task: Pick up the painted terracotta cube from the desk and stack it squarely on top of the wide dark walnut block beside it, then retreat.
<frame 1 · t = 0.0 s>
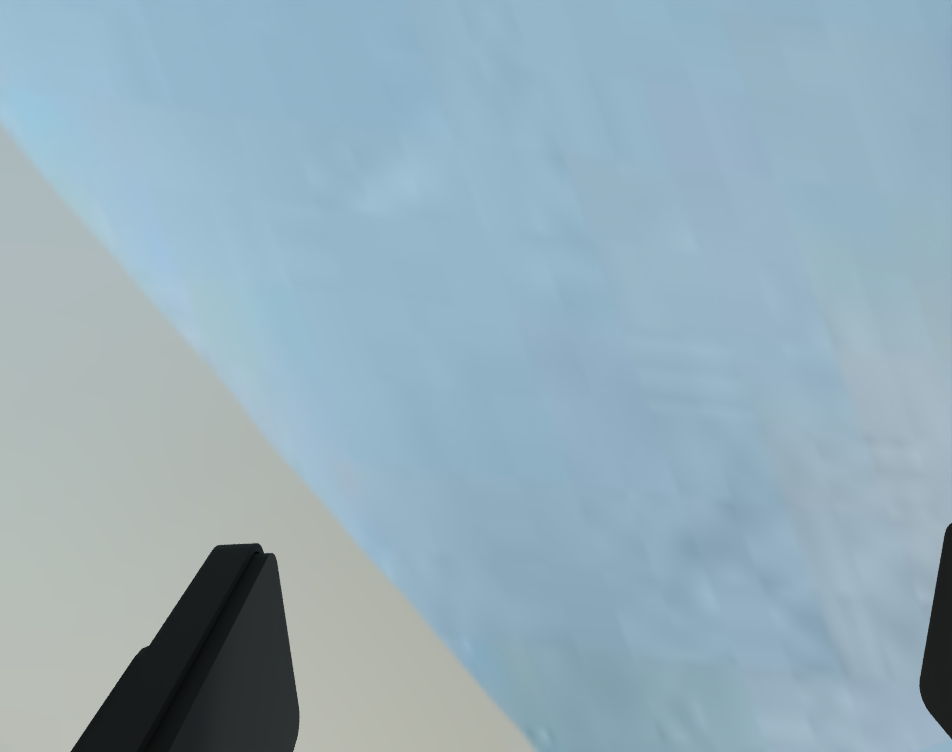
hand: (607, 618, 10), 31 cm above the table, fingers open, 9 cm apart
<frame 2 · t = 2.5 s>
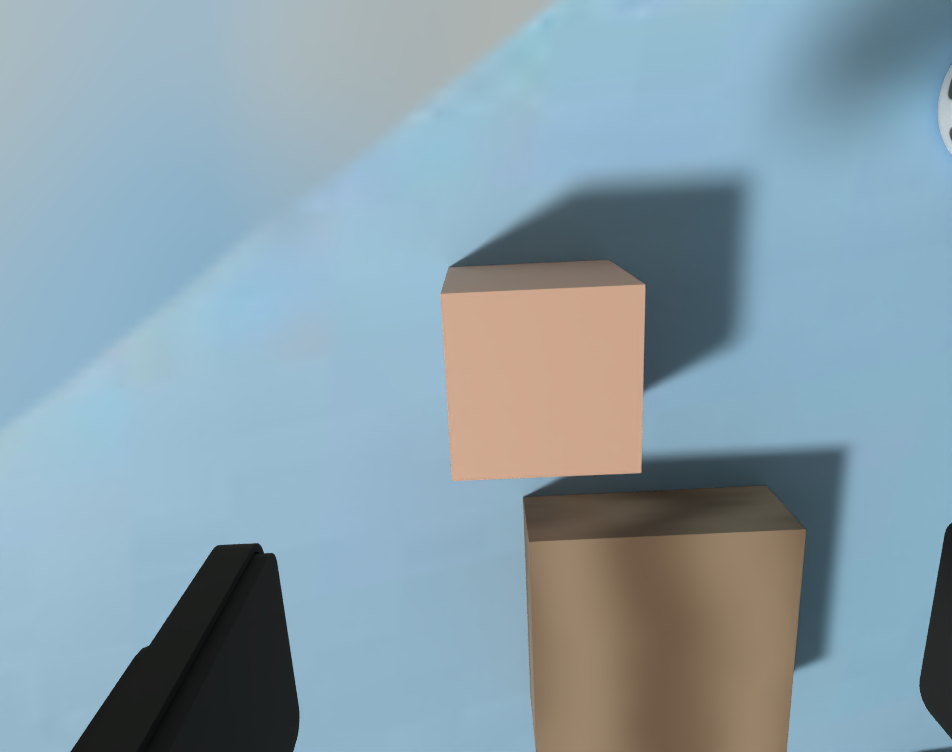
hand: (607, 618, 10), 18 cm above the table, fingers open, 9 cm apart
walnut block: (640, 591, 30), on the table
terracotta cube: (530, 340, 27), on the table
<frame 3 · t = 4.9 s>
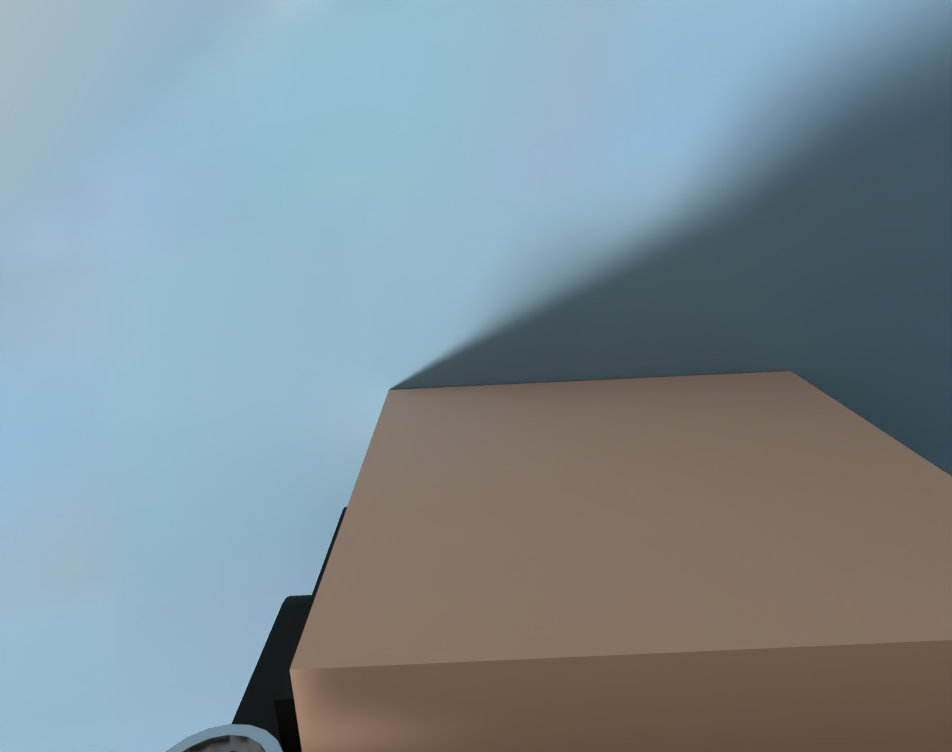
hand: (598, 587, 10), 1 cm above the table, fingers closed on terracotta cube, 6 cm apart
terracotta cube: (589, 556, 11), on the table, touching gripper
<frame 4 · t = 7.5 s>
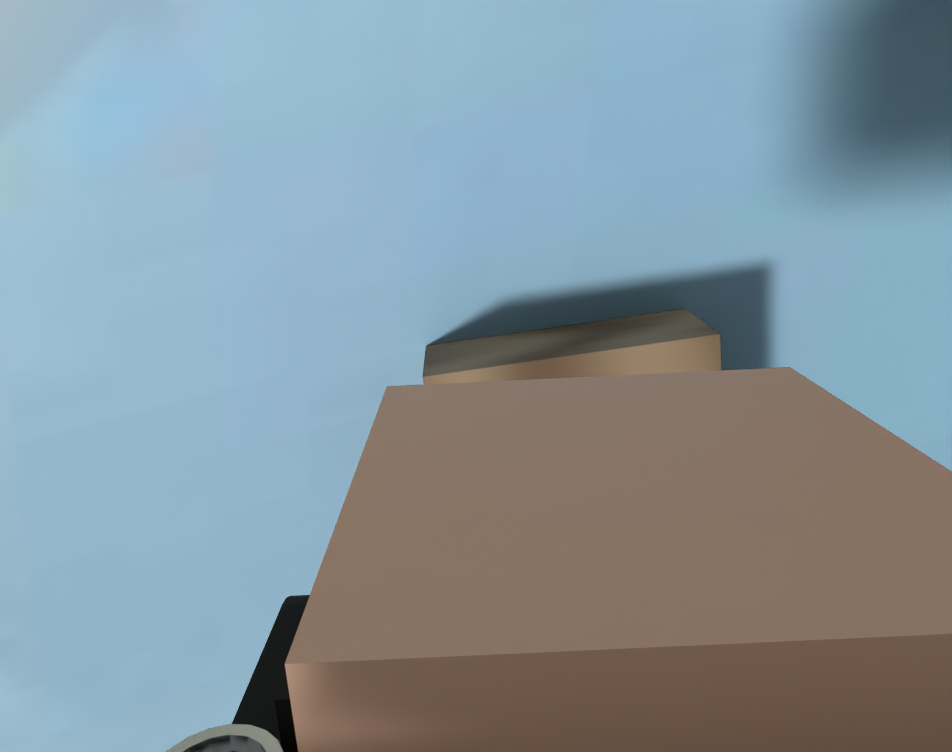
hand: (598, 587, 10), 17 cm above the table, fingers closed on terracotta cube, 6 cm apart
walnut block: (566, 441, 29), on the table
terracotta cube: (588, 553, 11), point 16 cm above the table, touching gripper
when the fingers open (5 cm above the table, at t = 10.3 s): terracotta cube stays where it is, resting on walnut block.
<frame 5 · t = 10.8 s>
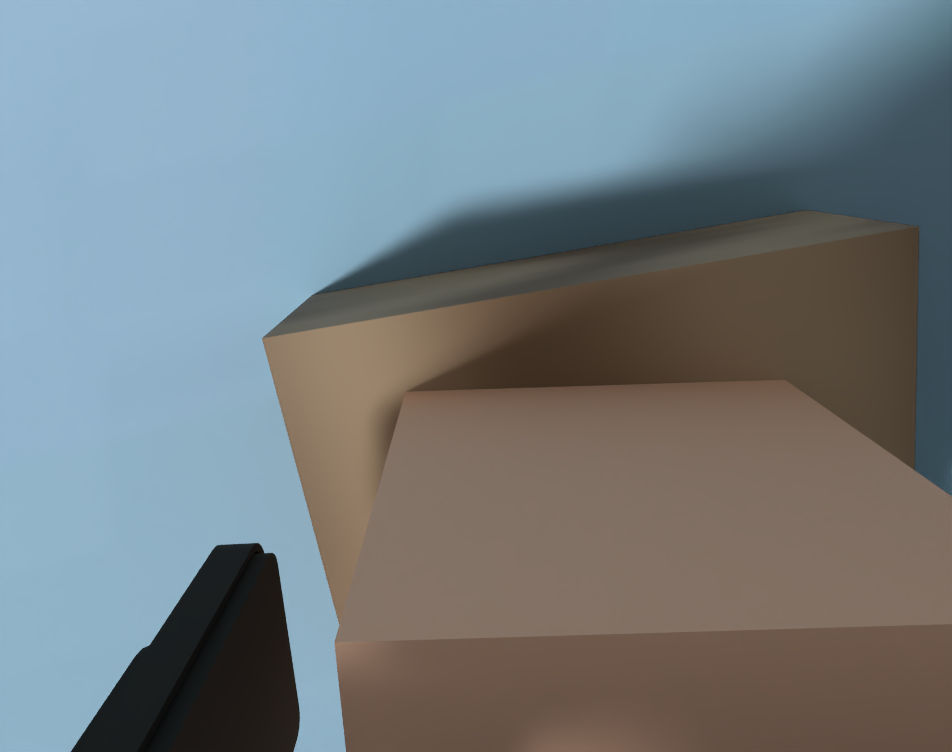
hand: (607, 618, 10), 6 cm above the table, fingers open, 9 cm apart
walnut block: (583, 469, 16), on the table, touching terracotta cube
terracotta cube: (591, 552, 12), point 4 cm above the table, touching walnut block
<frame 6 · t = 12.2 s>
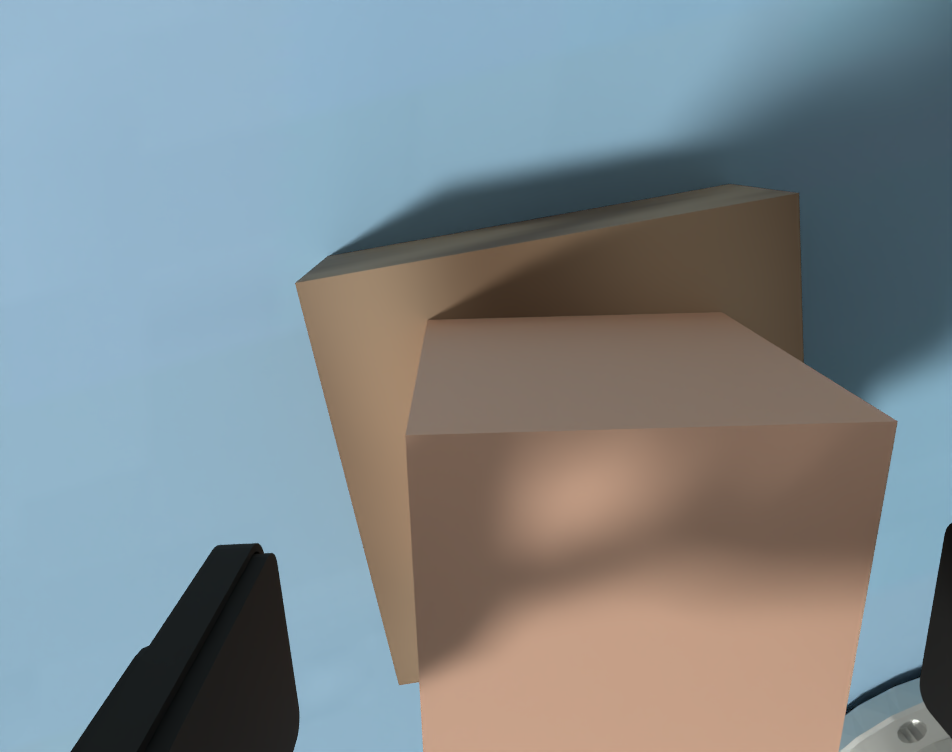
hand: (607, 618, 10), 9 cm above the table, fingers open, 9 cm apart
walnut block: (552, 403, 19), on the table, touching terracotta cube
terracotta cube: (571, 451, 15), point 4 cm above the table, touching walnut block
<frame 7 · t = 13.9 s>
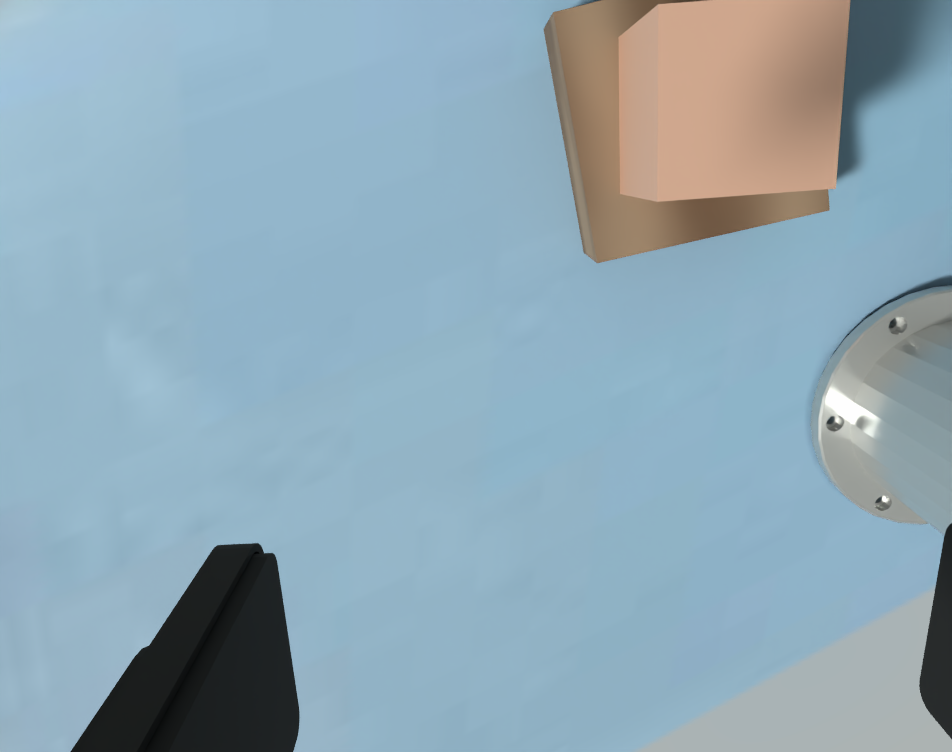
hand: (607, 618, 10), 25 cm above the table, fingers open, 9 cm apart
walnut block: (669, 120, 32), on the table, touching terracotta cube
terracotta cube: (693, 112, 28), point 4 cm above the table, touching walnut block
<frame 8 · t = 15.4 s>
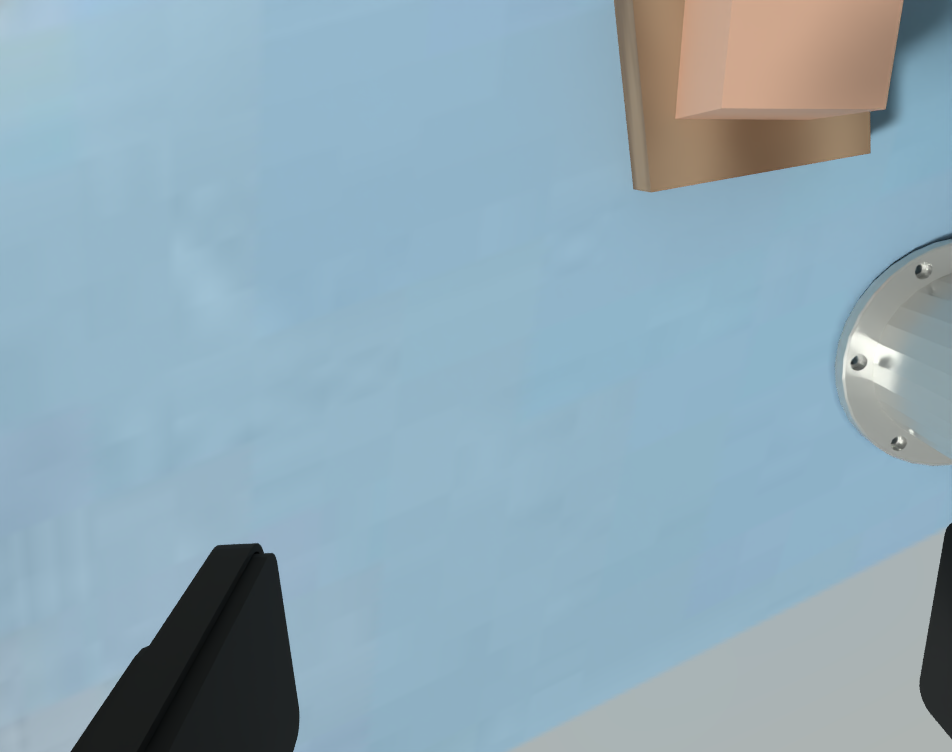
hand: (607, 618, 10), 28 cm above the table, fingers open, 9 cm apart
walnut block: (722, 66, 34), on the table, touching terracotta cube
terracotta cube: (750, 45, 30), point 4 cm above the table, touching walnut block
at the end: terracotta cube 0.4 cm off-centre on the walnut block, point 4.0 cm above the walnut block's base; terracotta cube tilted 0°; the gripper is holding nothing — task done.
